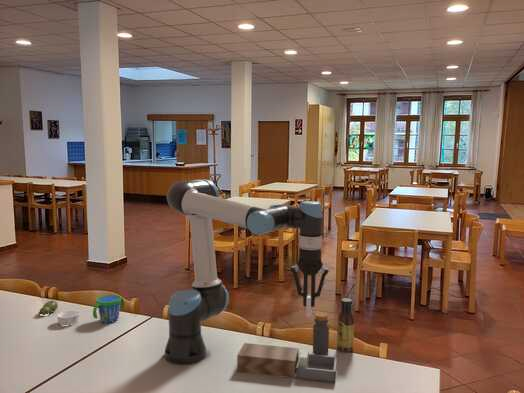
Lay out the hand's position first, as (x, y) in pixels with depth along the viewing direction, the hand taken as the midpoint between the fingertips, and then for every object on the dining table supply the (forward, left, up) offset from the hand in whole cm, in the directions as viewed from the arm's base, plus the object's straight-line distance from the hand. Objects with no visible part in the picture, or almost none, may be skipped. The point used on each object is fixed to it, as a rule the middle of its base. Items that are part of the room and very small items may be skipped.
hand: (308, 315), depth 156 cm
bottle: (+3, +16, -21) cm, 26 cm away
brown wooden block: (-14, 0, -20) cm, 25 cm away
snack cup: (-91, +28, -21) cm, 97 cm away
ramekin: (-107, +21, -21) cm, 111 cm away
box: (+3, 0, -20) cm, 21 cm away
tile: (-3, 0, -17) cm, 17 cm away
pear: (-123, +29, -21) cm, 128 cm away
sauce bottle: (+12, +21, -21) cm, 32 cm away
